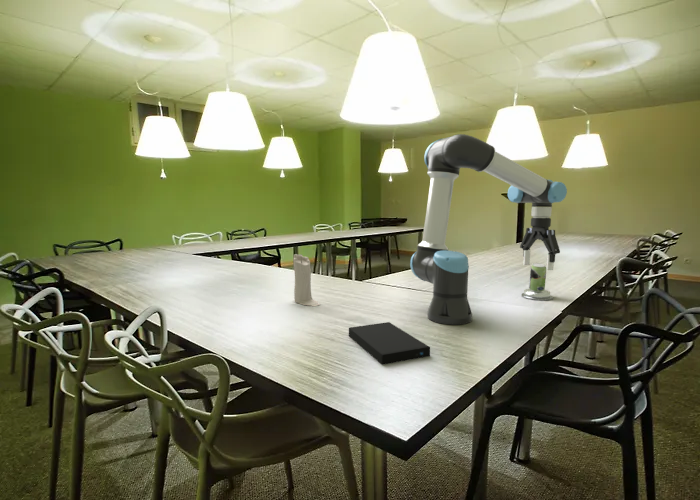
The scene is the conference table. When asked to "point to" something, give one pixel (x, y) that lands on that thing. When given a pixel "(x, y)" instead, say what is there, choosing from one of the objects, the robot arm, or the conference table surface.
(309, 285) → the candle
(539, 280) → the beverage can
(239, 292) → the conference table surface
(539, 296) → the bowl
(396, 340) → the external hard drive
